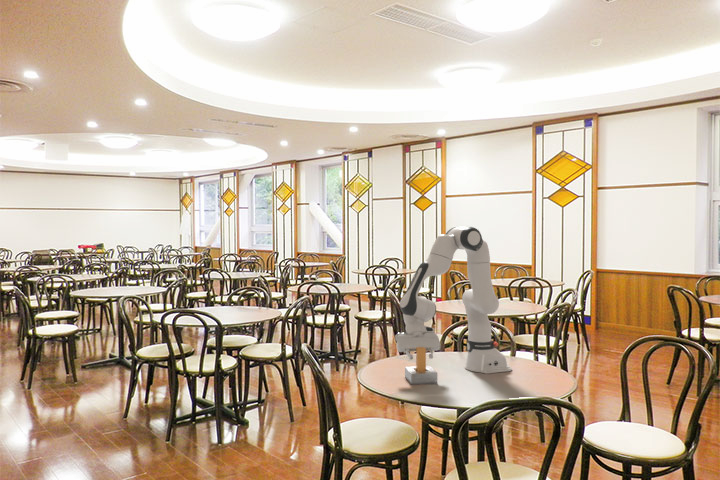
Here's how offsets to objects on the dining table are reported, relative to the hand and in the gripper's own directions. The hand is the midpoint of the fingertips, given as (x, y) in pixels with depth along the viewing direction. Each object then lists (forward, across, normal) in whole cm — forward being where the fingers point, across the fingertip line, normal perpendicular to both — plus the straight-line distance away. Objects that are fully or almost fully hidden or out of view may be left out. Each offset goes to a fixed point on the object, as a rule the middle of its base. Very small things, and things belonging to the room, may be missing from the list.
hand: (421, 358), depth 240 cm
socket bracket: (+7, 0, +8) cm, 10 cm away
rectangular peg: (+6, 0, +7) cm, 9 cm away
